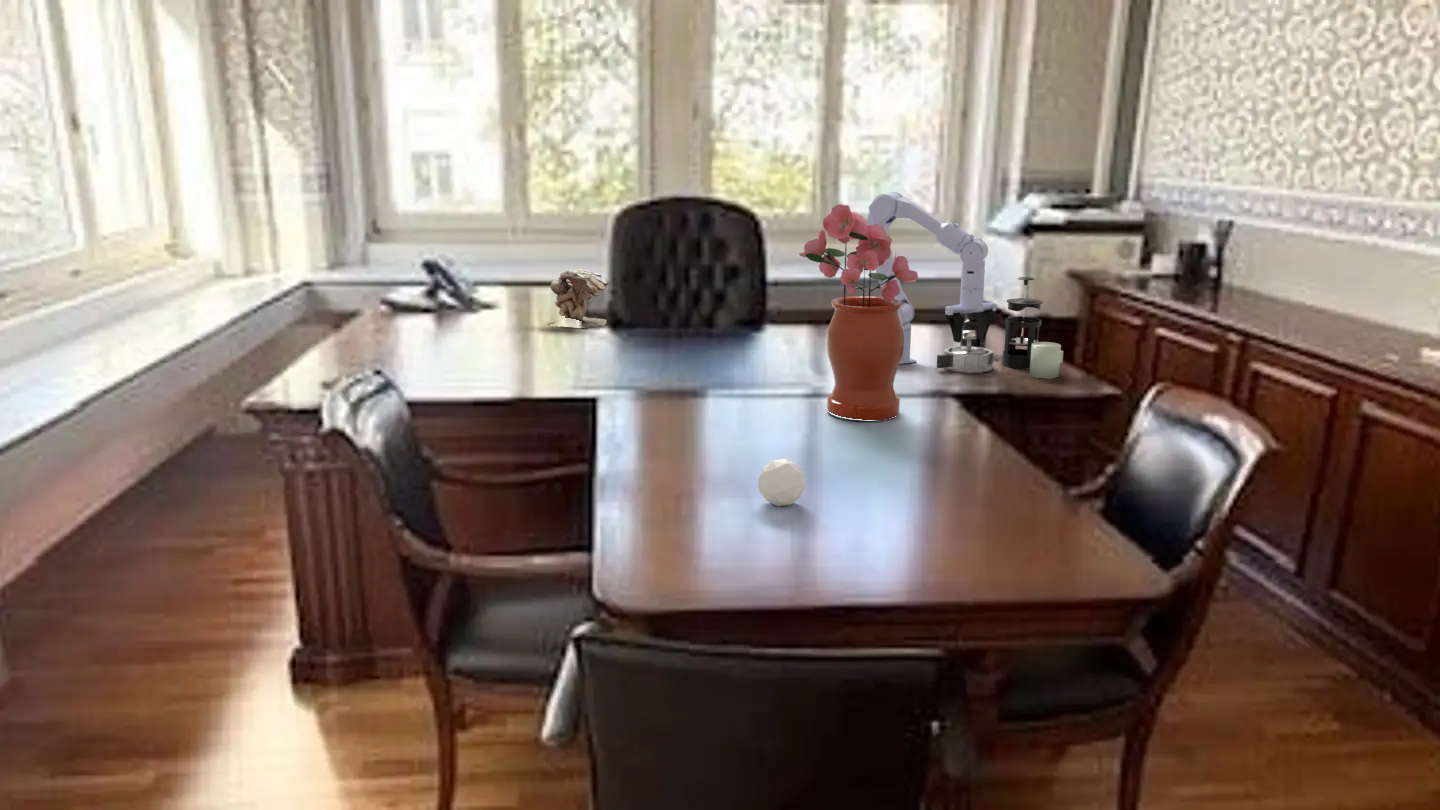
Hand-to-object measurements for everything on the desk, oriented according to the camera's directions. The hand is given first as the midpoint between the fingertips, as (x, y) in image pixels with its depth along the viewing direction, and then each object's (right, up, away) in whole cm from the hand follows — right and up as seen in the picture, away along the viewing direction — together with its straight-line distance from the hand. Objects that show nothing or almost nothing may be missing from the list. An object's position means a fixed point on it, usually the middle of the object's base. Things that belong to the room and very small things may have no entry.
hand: (969, 340), depth 270 cm
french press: (+14, -6, +6) cm, 17 cm away
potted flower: (-34, -18, -38) cm, 54 cm away
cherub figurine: (-109, +9, +67) cm, 128 cm away
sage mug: (+17, -9, -7) cm, 21 cm away
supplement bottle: (+6, -2, +20) cm, 21 cm away
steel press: (-2, -7, +1) cm, 7 cm away
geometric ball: (-54, -33, -94) cm, 114 cm away
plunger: (0, -4, +1) cm, 4 cm away
